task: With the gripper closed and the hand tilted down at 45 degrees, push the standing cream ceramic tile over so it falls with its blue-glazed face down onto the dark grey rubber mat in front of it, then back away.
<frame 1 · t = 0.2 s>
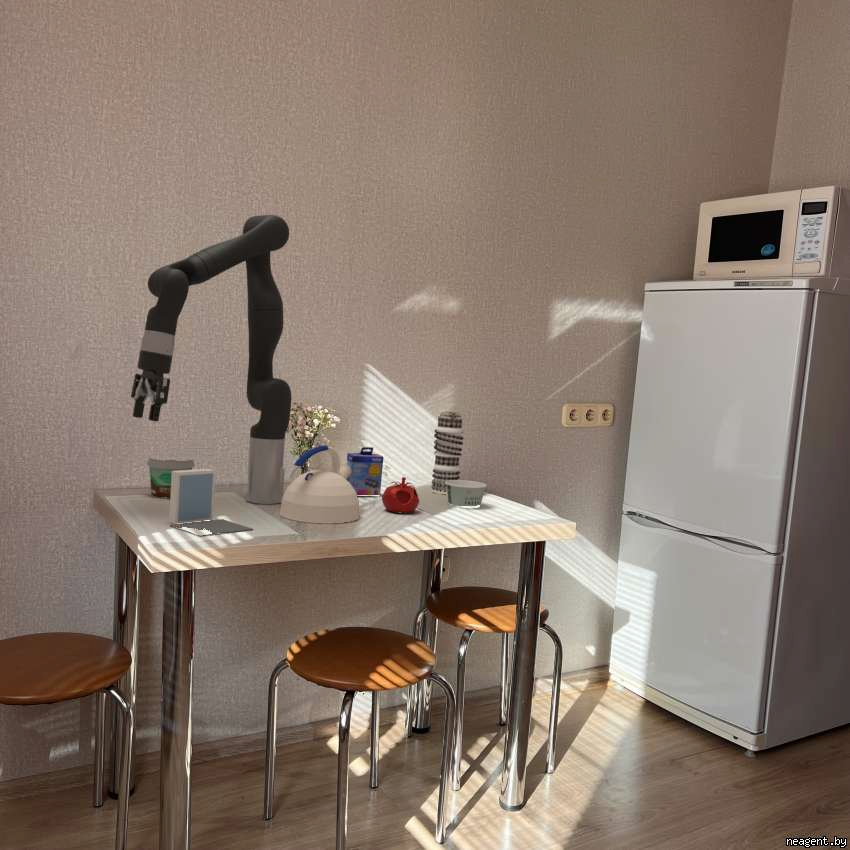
hand: (145, 419, 210), 22 cm above the table, tool pointing down, fingers open, 8 cm apart
food container 2: (464, 506, 253), on the table
tile: (191, 521, 205), on the table
ink cartridge box: (362, 496, 258), on the table
leaning tower model: (444, 493, 274), on the table
food container: (170, 497, 234), on the table
pomegranate: (399, 512, 237), on the table
mat: (211, 528, 200), on the table
kettle: (320, 516, 224), on the table
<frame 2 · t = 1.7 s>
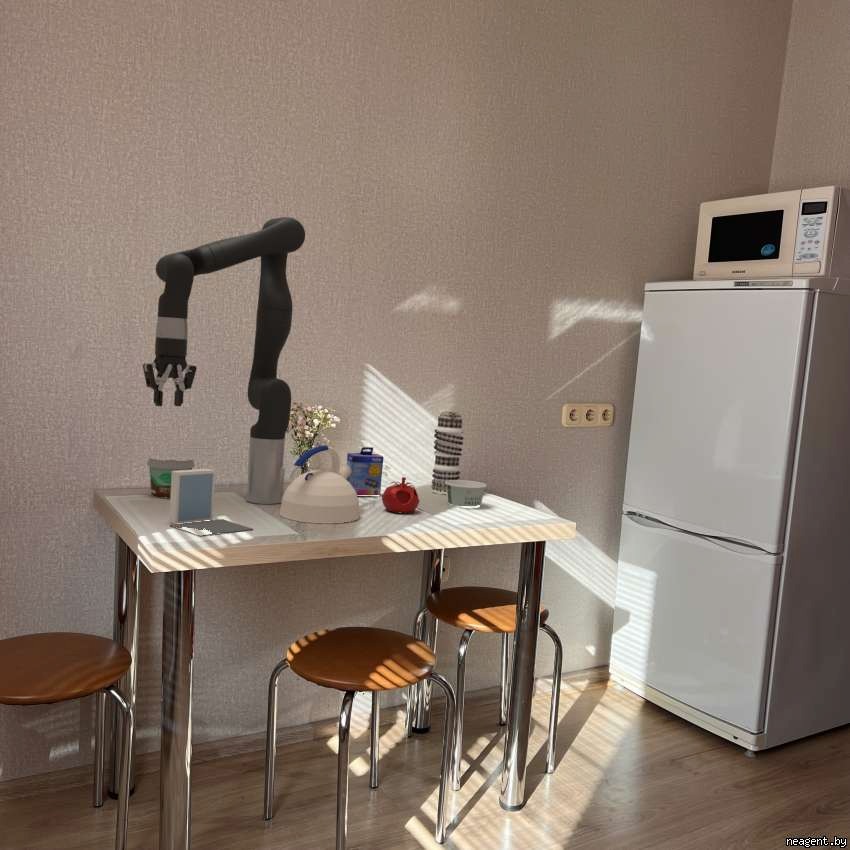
hand: (168, 405, 218), 25 cm above the table, tool pointing down, fingers open, 4 cm apart
nothing on the table moved.
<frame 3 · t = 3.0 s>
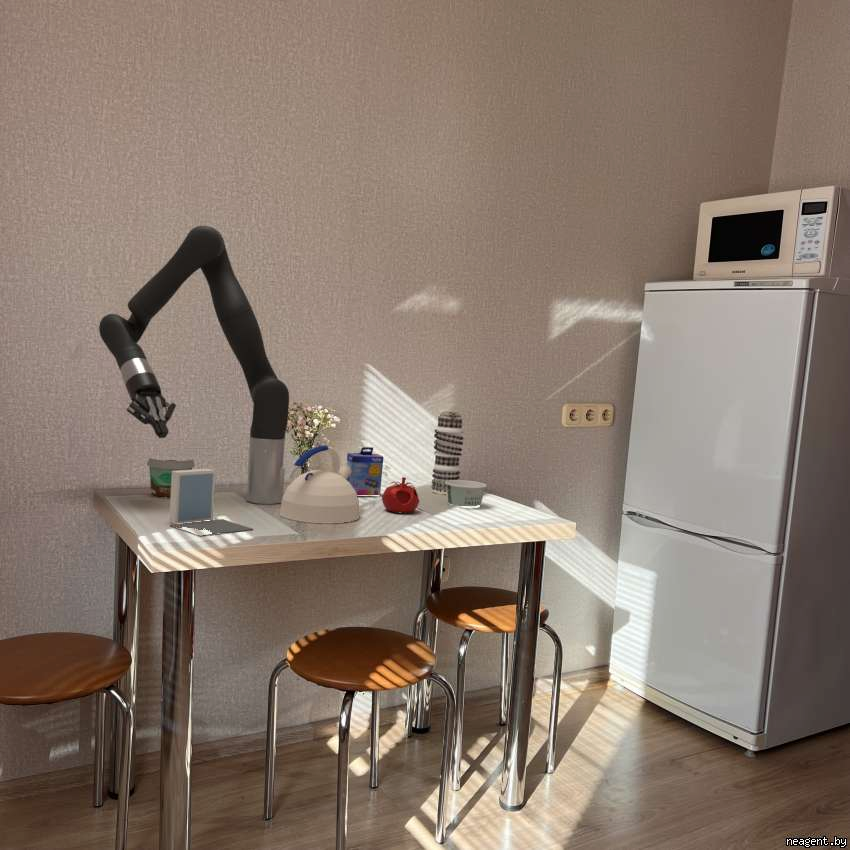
hand: (163, 435, 213), 18 cm above the table, tool tilted 45°, fingers closed
nothing on the table moved.
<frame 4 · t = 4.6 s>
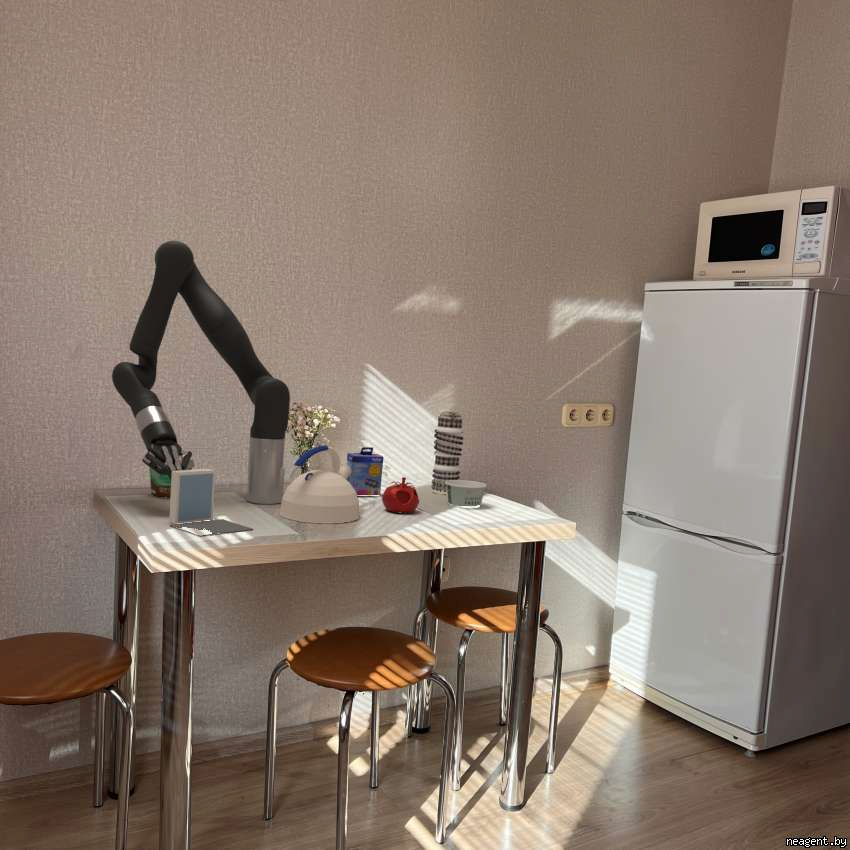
hand: (180, 486, 208), 7 cm above the table, tool tilted 45°, fingers closed
nothing on the table moved.
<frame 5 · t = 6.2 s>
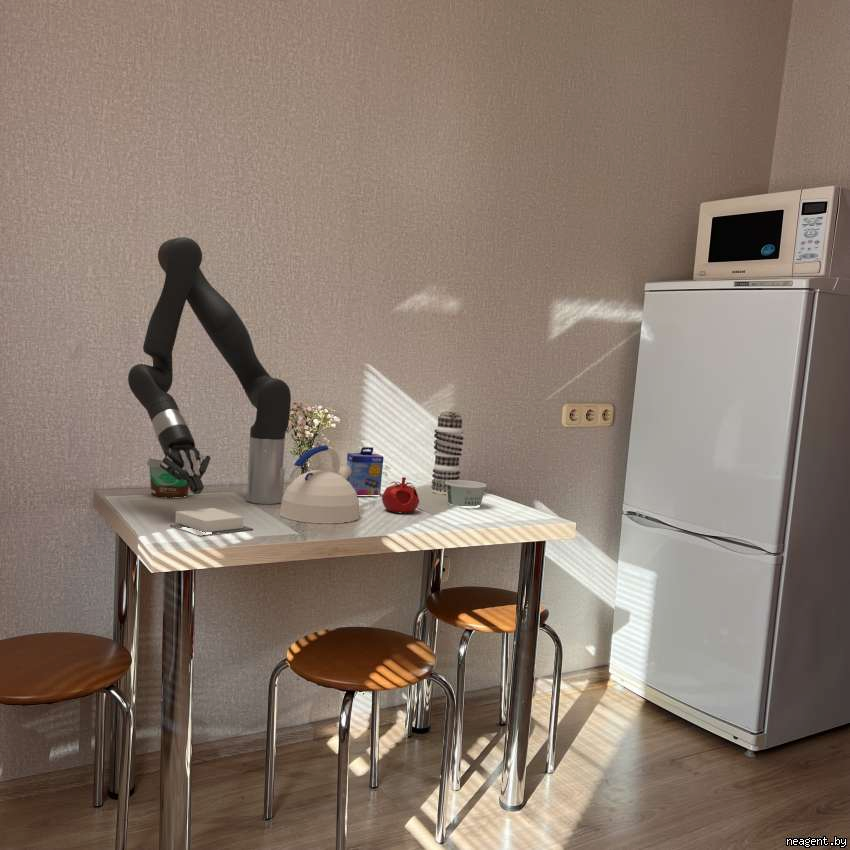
hand: (198, 491, 203), 7 cm above the table, tool tilted 45°, fingers closed
tile: (194, 514, 204), point 2 cm above the table, tilted 90°, touching mat
everything else where it was.
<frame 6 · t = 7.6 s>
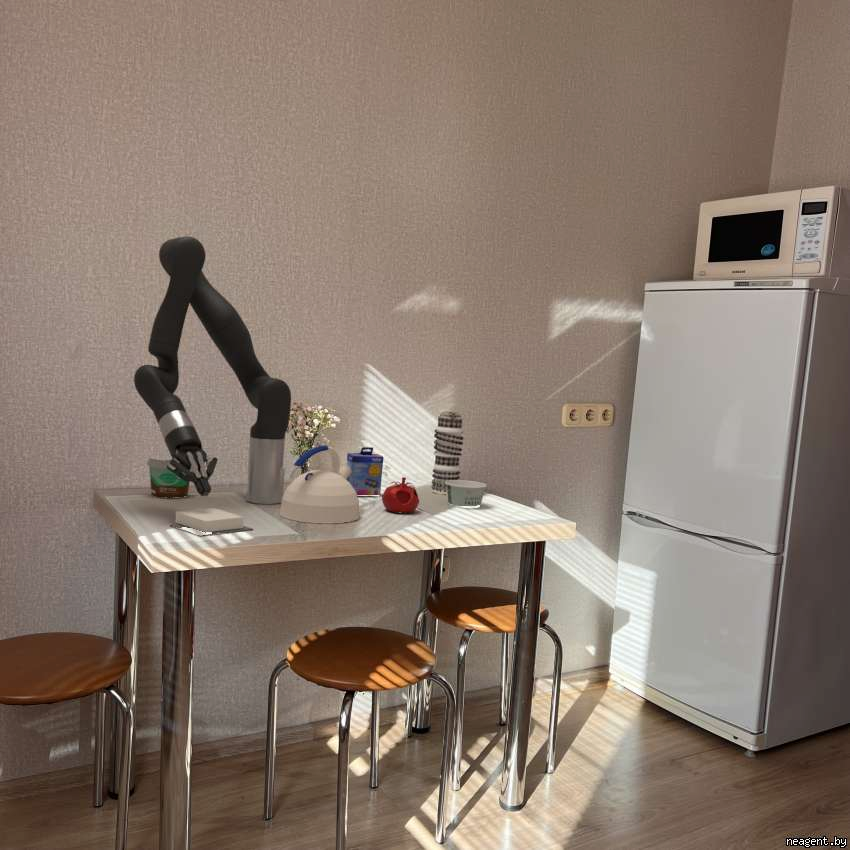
hand: (206, 494, 201), 7 cm above the table, tool tilted 45°, fingers closed
nothing on the table moved.
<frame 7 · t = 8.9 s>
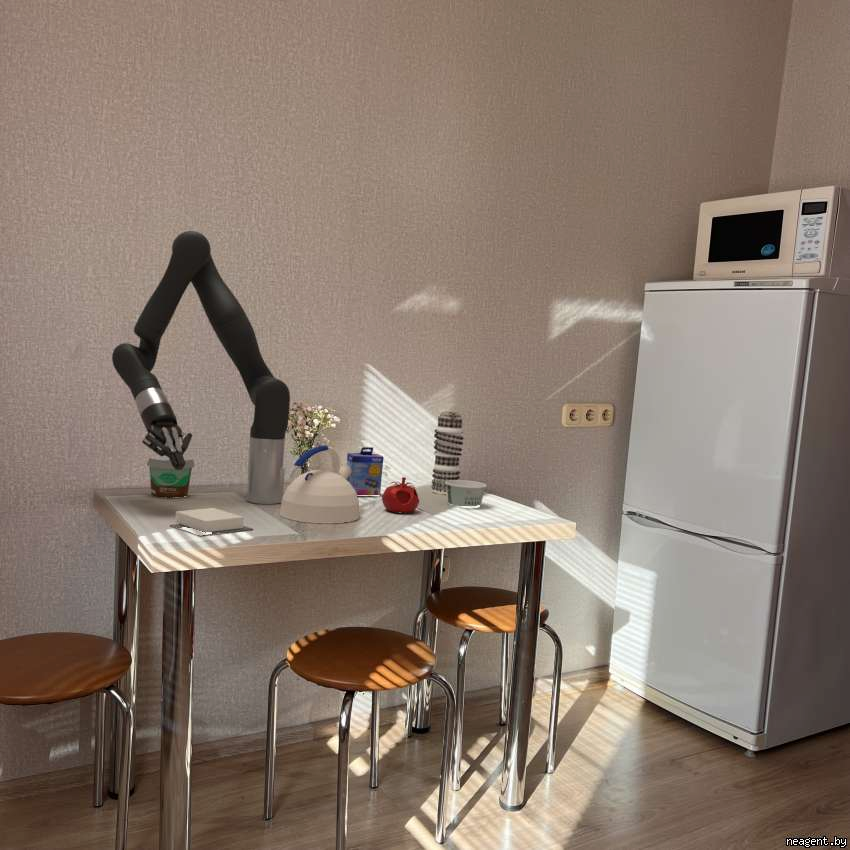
hand: (180, 467, 208), 12 cm above the table, tool tilted 45°, fingers closed
nothing on the table moved.
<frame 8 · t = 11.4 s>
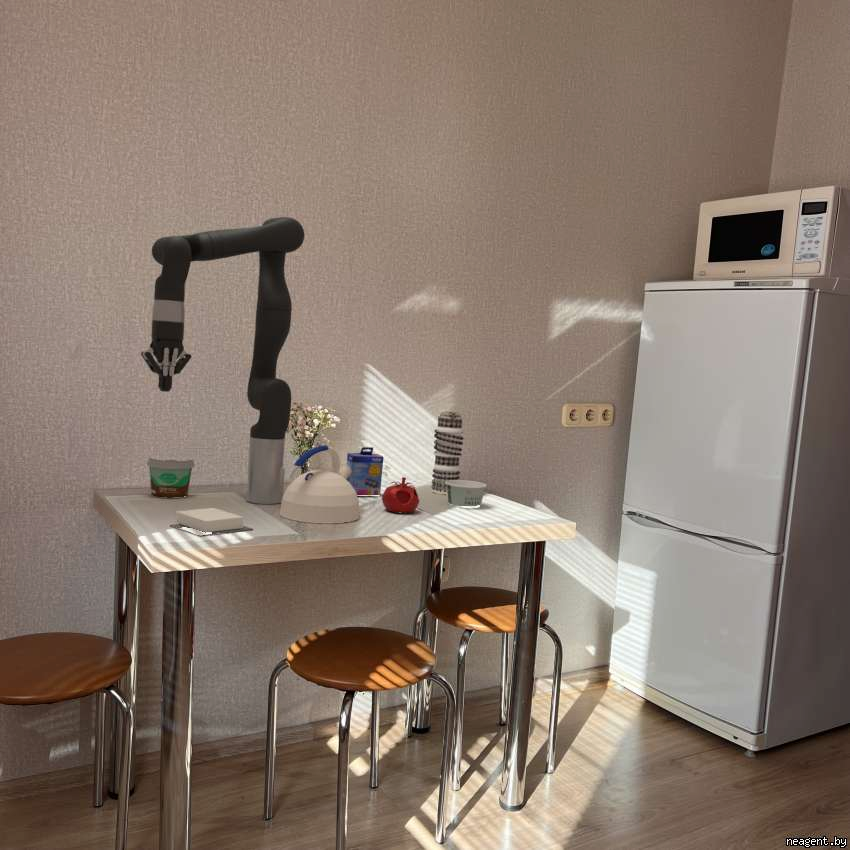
hand: (164, 391, 215), 29 cm above the table, tool pointing down, fingers closed
nothing on the table moved.
at the end: tile tilted 90°; tile inside the target area (3.7 cm from its centre), point 1.7 cm above the table; the gripper is holding nothing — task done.
